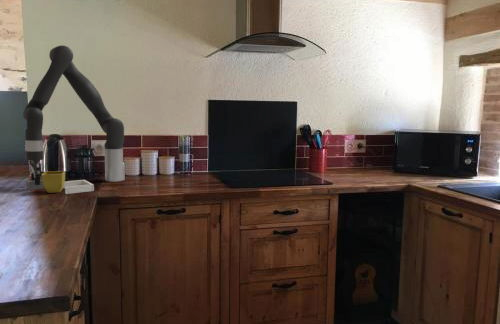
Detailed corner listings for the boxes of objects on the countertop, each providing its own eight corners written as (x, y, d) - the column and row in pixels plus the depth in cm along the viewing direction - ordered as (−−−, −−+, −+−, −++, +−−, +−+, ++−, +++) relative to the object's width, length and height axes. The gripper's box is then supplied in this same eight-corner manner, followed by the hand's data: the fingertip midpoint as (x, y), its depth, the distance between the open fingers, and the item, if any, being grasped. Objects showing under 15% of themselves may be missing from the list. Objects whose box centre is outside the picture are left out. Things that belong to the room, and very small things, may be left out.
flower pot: (41, 194, 183) (40, 174, 181) (46, 190, 191) (45, 171, 190) (63, 193, 185) (62, 174, 184) (66, 189, 193) (65, 170, 192)
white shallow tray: (84, 185, 203) (84, 179, 203) (93, 190, 192) (93, 184, 191) (57, 188, 196) (57, 182, 195) (65, 193, 184) (65, 187, 184)
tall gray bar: (52, 186, 202) (52, 178, 201) (55, 187, 200) (54, 179, 199) (26, 189, 193) (26, 181, 192) (28, 190, 191) (28, 182, 190)
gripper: (46, 151, 189) (47, 185, 191) (39, 148, 200) (41, 180, 202) (28, 151, 185) (29, 186, 187) (22, 148, 196) (24, 181, 198)
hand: (35, 183), depth 195 cm, fingers open, 8 cm apart
